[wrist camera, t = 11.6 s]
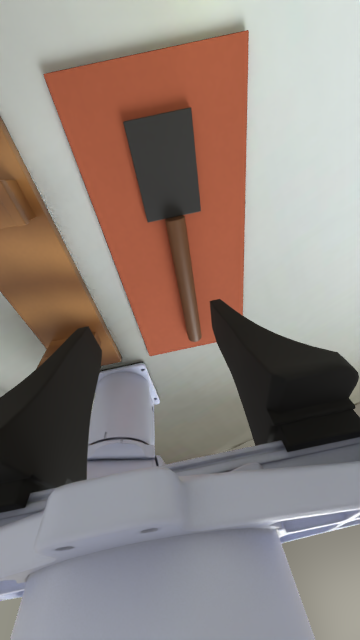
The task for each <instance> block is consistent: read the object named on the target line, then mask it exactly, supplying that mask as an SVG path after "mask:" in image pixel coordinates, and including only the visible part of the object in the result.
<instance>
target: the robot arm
mask: <svg viewBox="0 0 360 640" xmlns="http://www.w3.org/2000/svg"><path fill="white" fill-rule="evenodd" d="M210 311H211V322H212V329H213V332H214V336H215V339H216V342H217V344H218V346H219V348H220V350H221V352H222V355H223V357H224V359H225V361H226V363H227V365H228V367H229V369H230V371H231V374H232V376H233V379H234V381H235V384H236V387H237V390H238V393H239V396H240V399H241V402H242V405H243V408H244V411H245V414H246V417H247V420H248V423H249V426H250V429H251V433H252V436H253V439H254V442H255V446H251V447H247V448H242V449H238V450H232V451H228V452H223V453H218V454H214V455H209V456H204V457H199V458H195V459H190V460H185V461H180V462H176V463H171V464H165V462H164V461H163V460H162V458H161V456H159V455H155V446H154V444H155V427H154V405H155V404H159V403H160V399H159V397H158V394H157V392H156V389H155V387H154V384H153V382H152V380H151V377H150V375H149V372H148V370H147V368H146V365H145V364H144V363H138V364H134V365H129V366H124V367H120V368H115V369H110V370H105V371H101V372H100V368H101V361H102V349H101V348H100V346H99V344H98V342H97V341H96V339H95V337H94V335H93V333H92V332H91V330H90V328H89V326H87V327H82V328H78V329H77V330H76V331H75V332H74V333H73V334H72V335H71V336H70V337H69V338H68V339H67V340H66V341H65V342H64V343H63V344H62V345H61V346H60V347H59V348H58V349H57V350H56V351H55V352H54V353H53V354H52V355H51V356H50V357H49V358H48V359H47V360H46V361H45V362H44V363H43V364H42V365H41V366H39V367H38V368H37V369H36V370H35V371H34V372H33V373H32V374H30V375H29V376H28V377H27V378H26V379H24V380H23V381H22V382H21V383H19V384H18V385H17V386H15V387H14V388H13V389H11V390H10V391H9V392H7V393H6V394H5V395H3V396H2V397H0V601H2V600H8V599H13V598H18V597H22V600H21V604H20V607H19V611H18V614H17V617H16V621H15V624H14V628H13V631H12V635H11V638H10V640H315V638H314V635H313V632H312V629H311V626H310V624H309V621H308V618H307V615H306V612H305V609H304V606H303V604H302V601H301V598H300V595H299V592H298V590H297V587H296V584H295V581H294V578H293V575H292V573H291V570H290V567H289V564H288V561H287V559H286V556H285V553H284V550H283V547H282V544H281V543H285V542H289V541H293V540H297V539H301V538H305V537H309V536H313V535H317V534H321V533H325V532H329V531H333V530H337V529H341V528H345V527H349V526H353V525H357V524H360V417H359V416H358V415H357V414H356V413H355V412H354V410H353V409H355V405H354V404H353V403H352V401H351V400H350V399H349V396H350V395H351V393H352V391H353V389H354V388H355V386H356V384H357V382H358V379H359V375H358V372H357V371H356V370H355V369H354V368H353V367H352V366H351V365H350V364H349V363H348V362H347V361H346V360H345V359H344V358H343V357H342V356H341V355H340V354H339V353H338V352H333V351H329V350H325V349H321V348H317V347H313V346H309V345H306V344H303V343H300V342H297V341H294V340H291V339H288V338H285V337H283V336H280V335H278V334H275V333H273V332H271V331H269V330H267V329H265V328H263V327H261V326H259V325H257V324H255V323H254V322H252V321H250V320H249V319H247V318H245V317H244V316H242V315H241V314H240V313H238V312H237V311H235V310H234V309H233V308H231V307H230V306H229V305H227V304H226V303H225V302H223V301H222V300H221V299H217V300H212V301H210ZM95 393H96V394H95ZM94 394H95V399H94ZM93 399H94V403H93ZM92 404H93V408H92ZM91 410H92V412H91Z"/></svg>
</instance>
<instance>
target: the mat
mask: <svg viewBox="0 0 360 640" xmlns="http://www.w3.org/2000/svg"><path fill="white" fill-rule="evenodd" d="M248 35H249V31H248V30H247V31H242V32H237V33H233V34H228V35H223V36H219V37H214V38H209V39H205V40H200V41H195V42H191V43H186V44H181V45H177V46H172V47H167V48H163V49H158V50H153V51H149V52H144V53H140V54H135V55H130V56H126V57H121V58H116V59H112V60H107V61H102V62H98V63H93V64H88V65H84V66H79V67H74V68H70V69H65V70H60V71H56V72H51V73H46V74H44V78H45V80H46V83H47V86H48V88H49V91H50V94H51V96H52V99H53V101H54V104H55V107H56V109H57V112H58V115H59V117H60V120H61V123H62V125H63V128H64V131H65V133H66V136H67V138H68V141H69V144H70V146H71V149H72V152H73V154H74V157H75V160H76V162H77V165H78V168H79V170H80V173H81V175H82V178H83V181H84V183H85V186H86V189H87V191H88V194H89V197H90V199H91V202H92V205H93V207H94V210H95V212H96V215H97V218H98V220H99V223H100V226H101V228H102V231H103V234H104V236H105V239H106V242H107V244H108V247H109V249H110V252H111V255H112V257H113V260H114V263H115V265H116V268H117V271H118V273H119V276H120V279H121V281H122V284H123V286H124V289H125V292H126V294H127V297H128V300H129V302H130V305H131V308H132V310H133V313H134V316H135V318H136V321H137V323H138V326H139V329H140V331H141V334H142V337H143V339H144V342H145V345H146V347H147V350H148V353H149V355H150V356H153V355H158V354H163V353H167V352H172V351H177V350H181V349H186V348H191V347H196V346H200V345H205V344H210V343H214V342H216V339H215V336H214V332H213V329H212V322H211V311H210V301H212V300H217V299H221V300H222V301H223V302H225V303H226V304H227V305H229V306H230V307H231V308H233V309H234V310H235V311H237V312H238V313H240V314H241V315H242V316H243V272H244V224H245V177H246V130H247V83H248ZM189 107H191V110H192V120H193V131H194V142H195V152H196V163H197V173H198V184H199V194H200V205H201V211H200V212H196V213H191V214H186V215H183V216H185V221H186V228H187V235H188V242H189V249H190V256H191V263H192V271H193V278H194V285H195V292H196V299H197V306H198V313H199V321H200V328H201V335H202V337H201V339H200V340H199V341H197V342H192V341H190V340H189V339H188V335H187V330H186V325H185V320H184V315H183V309H182V304H181V299H180V294H179V289H178V284H177V279H176V274H175V269H174V264H173V258H172V253H171V248H170V243H169V238H168V233H167V228H166V223H165V220H166V219H163V220H158V221H153V222H149V223H148V222H147V218H146V214H145V210H144V206H143V202H142V198H141V193H140V189H139V185H138V181H137V177H136V173H135V169H134V165H133V161H132V157H131V153H130V149H129V144H128V140H127V136H126V132H125V128H124V124H123V122H124V121H128V120H133V119H138V118H142V117H147V116H152V115H156V114H161V113H166V112H170V111H175V110H180V109H184V108H189Z"/></svg>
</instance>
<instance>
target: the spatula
mask: <svg viewBox="0 0 360 640" xmlns="http://www.w3.org/2000/svg"><path fill="white" fill-rule="evenodd" d="M123 124H124V128H125V132H126V136H127V140H128V144H129V149H130V153H131V157H132V161H133V165H134V169H135V173H136V177H137V181H138V185H139V189H140V193H141V198H142V202H143V206H144V210H145V214H146V218H147V222H148V223H149V222H153V221H158V220H163V219H166V220H165V223H166V228H167V233H168V238H169V243H170V248H171V253H172V258H173V264H174V269H175V274H176V279H177V284H178V289H179V294H180V299H181V304H182V309H183V315H184V320H185V325H186V330H187V335H188V339H189V340H190V341H192V342H197V341H199V340H200V339H201V337H202V335H201V328H200V321H199V313H198V306H197V299H196V292H195V285H194V278H193V271H192V263H191V256H190V249H189V242H188V235H187V228H186V221H185V216H183V215H186V214H191V213H196V212H200V211H201V205H200V194H199V184H198V173H197V163H196V152H195V142H194V131H193V120H192V110H191V107H189V108H184V109H180V110H175V111H170V112H166V113H161V114H156V115H152V116H147V117H142V118H138V119H133V120H128V121H124V122H123Z"/></svg>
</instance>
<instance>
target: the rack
mask: <svg viewBox="0 0 360 640" xmlns="http://www.w3.org/2000/svg"><path fill="white" fill-rule="evenodd" d="M0 291H1V293H2V294H3V295H4V296H5V298H6V299H7V300H8V301H9V303H10V304H11V305H12V306H13V308H14V309H15V310H16V311H17V313H18V314H19V315H20V316H21V318H22V319H23V320H24V321H25V322H26V324H27V325H28V326H29V327H30V329H31V330H32V331H33V332H34V334H35V335H36V336H37V337H38V339H39V340H40V341H41V342H42V344H43V345H44V346H45V347H46V349H47V350H46V352H45V354H44V355H43V357H42V359H41V361H40V363H39V365H38V367H39V366H41V365H42V364H43V363H44V362H45V361H46V360H47V359H48V358H49V357H50V356H51V355H52V354H53V353H54V352H55V351H56V350H57V349H58V348H59V347H60V346H61V345H62V344H63V343H64V342H65V341H66V340H67V339H68V338H69V337H70V336H71V335H72V334H73V333H74V332H75V331H76V330H77V329H78V328H82V327H87V326H89V328H90V330H91V332H92V333H93V335H94V337H95V339H96V341H97V342H98V344H99V346H100V348H101V349H102V361H101V366H103V365H108V364H113V363H117V362H121V359H122V357H121V355H120V353H119V351H118V349H117V347H116V345H115V343H114V341H113V339H112V337H111V335H110V333H109V331H108V329H107V327H106V325H105V323H104V321H103V319H102V317H101V315H100V313H99V311H98V309H97V307H96V305H95V303H94V301H93V299H92V297H91V295H90V293H89V291H88V289H87V287H86V285H85V283H84V281H83V279H82V277H81V275H80V273H79V271H78V269H77V267H76V265H75V263H74V262H73V260H72V258H71V256H70V254H69V252H68V250H67V248H66V246H65V244H64V242H63V240H62V238H61V236H60V234H59V232H58V230H57V228H56V226H55V224H54V222H53V220H52V218H51V216H50V214H49V212H48V210H47V208H46V206H45V204H44V202H43V200H42V198H41V196H40V194H39V192H38V190H37V188H36V186H35V184H34V182H33V180H32V178H31V176H30V174H29V172H28V170H27V168H26V166H25V164H24V162H23V160H22V158H21V156H20V154H19V152H18V150H17V148H16V146H15V144H14V142H13V140H12V138H11V136H10V134H9V132H8V130H7V128H6V126H5V124H4V122H3V120H2V119H1V117H0ZM38 367H37V368H38Z"/></svg>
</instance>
